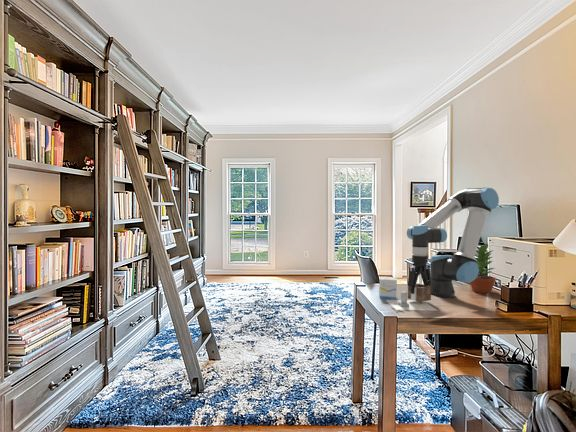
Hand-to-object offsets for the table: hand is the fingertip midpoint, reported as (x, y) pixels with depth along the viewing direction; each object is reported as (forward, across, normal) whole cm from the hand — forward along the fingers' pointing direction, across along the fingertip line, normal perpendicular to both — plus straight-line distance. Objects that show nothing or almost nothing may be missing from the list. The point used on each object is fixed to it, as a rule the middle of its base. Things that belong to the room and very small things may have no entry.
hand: (419, 298), depth 182 cm
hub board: (+3, +8, +1) cm, 9 cm away
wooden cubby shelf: (0, 0, 0) cm, 0 cm away
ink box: (+3, +7, -15) cm, 17 cm away
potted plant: (+5, -61, -4) cm, 62 cm away
